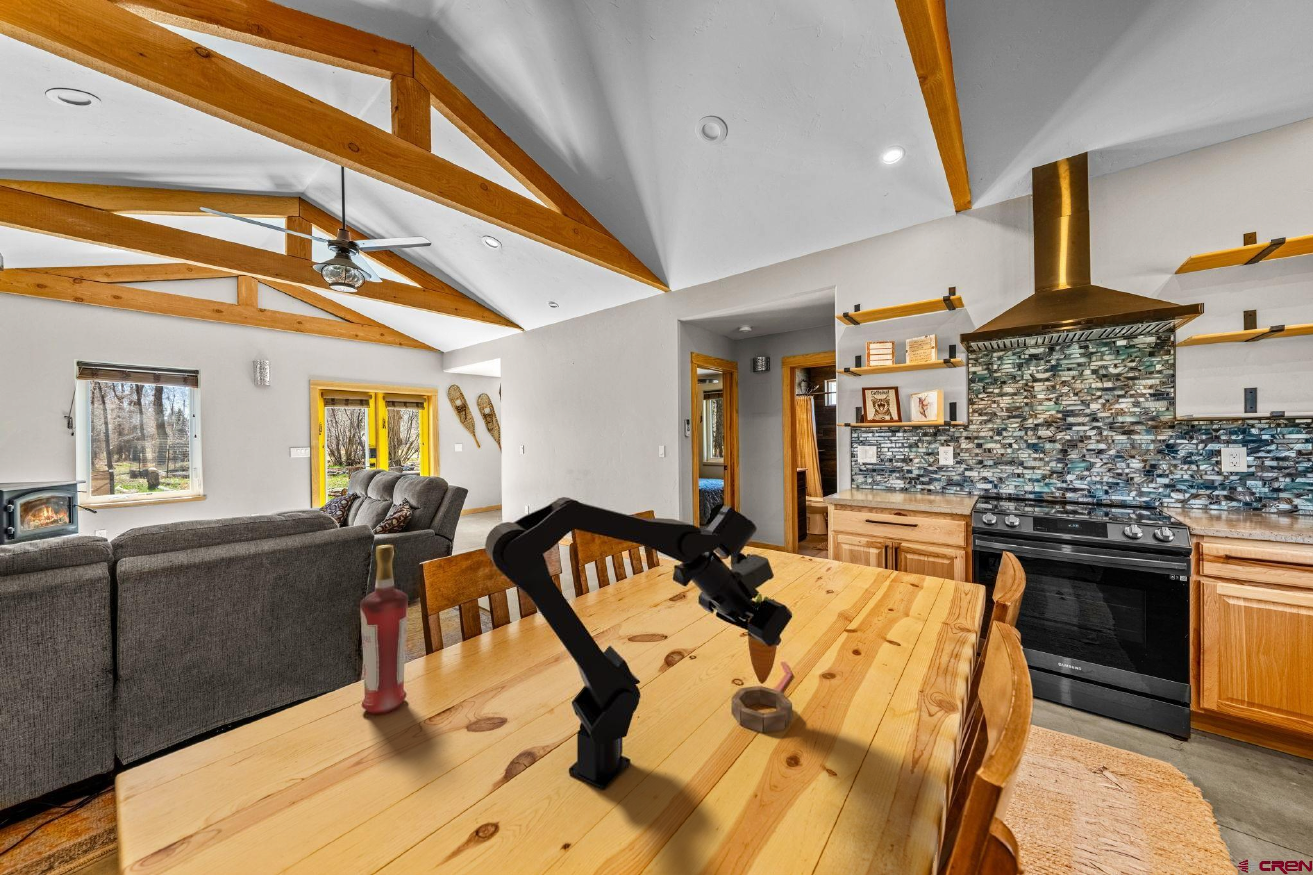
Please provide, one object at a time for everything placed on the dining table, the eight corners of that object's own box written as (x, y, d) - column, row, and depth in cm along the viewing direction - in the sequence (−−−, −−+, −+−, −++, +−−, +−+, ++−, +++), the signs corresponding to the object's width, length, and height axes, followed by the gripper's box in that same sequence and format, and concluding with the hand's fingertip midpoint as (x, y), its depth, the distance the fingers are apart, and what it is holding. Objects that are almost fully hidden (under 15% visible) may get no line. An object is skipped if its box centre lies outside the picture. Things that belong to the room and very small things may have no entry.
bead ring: (780, 738, 77) (780, 722, 77) (724, 720, 81) (724, 705, 81) (796, 710, 85) (796, 695, 85) (745, 695, 89) (745, 681, 89)
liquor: (356, 705, 86) (356, 545, 86) (402, 691, 91) (402, 540, 91) (364, 724, 80) (364, 553, 80) (412, 708, 85) (413, 547, 85)
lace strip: (772, 703, 87) (772, 701, 87) (754, 698, 88) (754, 695, 88) (798, 667, 100) (798, 664, 100) (781, 663, 102) (781, 660, 102)
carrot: (749, 674, 86) (750, 588, 86) (778, 679, 84) (779, 592, 84) (744, 687, 81) (745, 597, 81) (775, 693, 80) (776, 600, 80)
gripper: (783, 553, 73) (836, 616, 78) (713, 531, 89) (760, 584, 94) (739, 613, 69) (797, 676, 74) (675, 579, 86) (726, 632, 91)
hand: (768, 637), depth 83 cm, fingers closed on carrot, 5 cm apart
